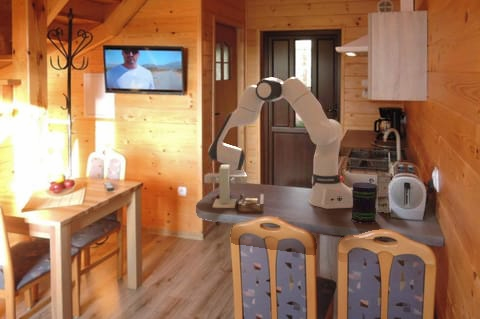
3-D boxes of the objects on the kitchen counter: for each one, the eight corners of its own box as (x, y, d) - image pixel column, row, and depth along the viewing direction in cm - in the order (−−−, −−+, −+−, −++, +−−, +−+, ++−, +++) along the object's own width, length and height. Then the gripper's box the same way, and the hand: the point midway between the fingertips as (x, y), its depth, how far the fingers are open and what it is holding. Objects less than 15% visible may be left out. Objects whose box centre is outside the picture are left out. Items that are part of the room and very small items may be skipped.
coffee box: (392, 213, 214) (394, 177, 211) (376, 212, 215) (378, 176, 213) (390, 207, 223) (392, 172, 220) (375, 207, 224) (377, 172, 221)
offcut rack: (263, 201, 235) (263, 194, 234) (263, 211, 217) (263, 203, 216) (240, 200, 235) (240, 193, 235) (238, 211, 217) (238, 203, 217)
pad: (236, 200, 236) (236, 199, 236) (234, 207, 223) (234, 206, 223) (215, 200, 236) (215, 198, 236) (212, 207, 224) (212, 205, 223)
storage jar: (373, 217, 208) (374, 182, 206) (378, 224, 199) (379, 188, 196) (349, 216, 209) (350, 182, 207) (353, 223, 199) (354, 187, 197)
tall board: (229, 197, 234) (229, 164, 231) (228, 203, 224) (228, 168, 222) (221, 197, 234) (221, 164, 232) (219, 203, 225) (219, 168, 222)
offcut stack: (257, 208, 222) (257, 198, 221) (257, 210, 219) (257, 200, 218) (244, 208, 222) (244, 198, 221) (244, 210, 219) (244, 199, 218)
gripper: (205, 169, 241) (202, 174, 227) (247, 169, 240) (246, 175, 226) (205, 181, 242) (202, 188, 228) (247, 182, 241) (246, 188, 227)
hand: (224, 181), depth 227 cm, fingers closed on tall board, 4 cm apart
